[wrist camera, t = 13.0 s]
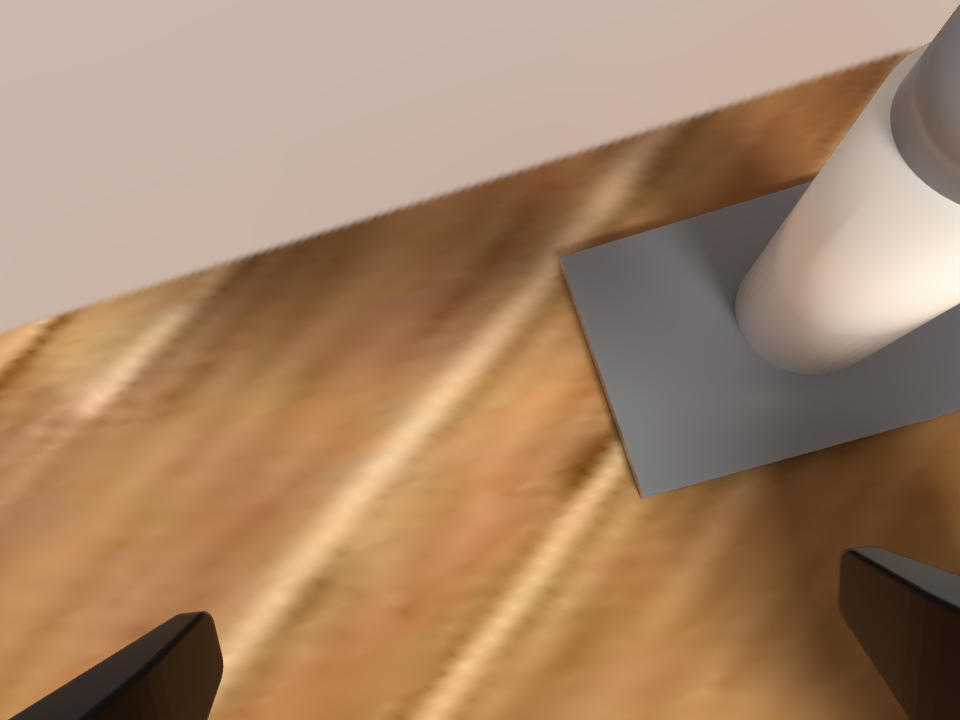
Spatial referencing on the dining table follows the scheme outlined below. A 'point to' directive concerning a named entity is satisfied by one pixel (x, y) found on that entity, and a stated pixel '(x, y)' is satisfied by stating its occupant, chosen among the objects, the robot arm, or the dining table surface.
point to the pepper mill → (868, 228)
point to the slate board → (732, 355)
